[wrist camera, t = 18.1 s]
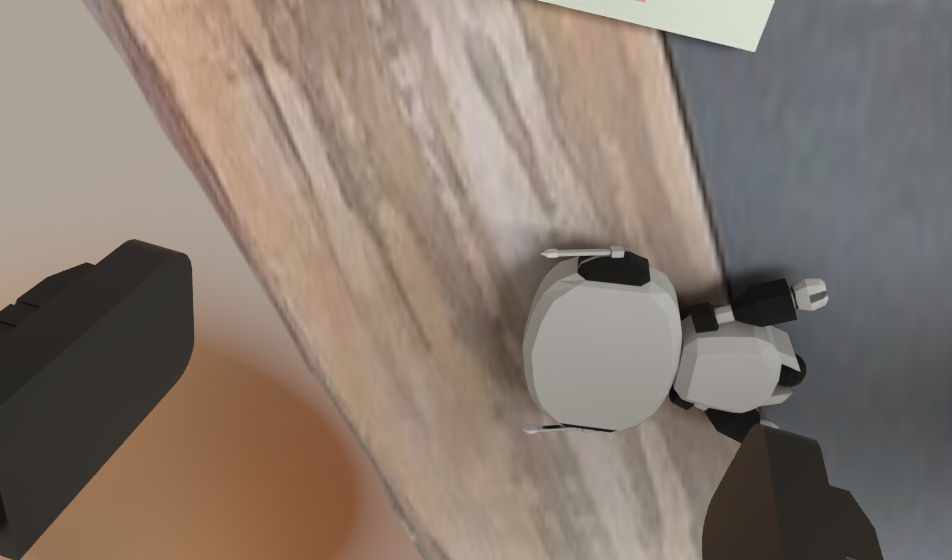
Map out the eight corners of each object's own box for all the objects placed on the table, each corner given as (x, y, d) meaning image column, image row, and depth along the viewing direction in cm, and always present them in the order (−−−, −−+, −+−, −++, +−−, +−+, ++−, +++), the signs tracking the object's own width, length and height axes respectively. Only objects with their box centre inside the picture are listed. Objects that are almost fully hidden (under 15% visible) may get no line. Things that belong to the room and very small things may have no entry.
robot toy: (826, 244, 39) (537, 214, 40) (850, 292, 35) (530, 256, 36) (766, 420, 45) (519, 388, 47) (781, 476, 41) (512, 440, 43)
